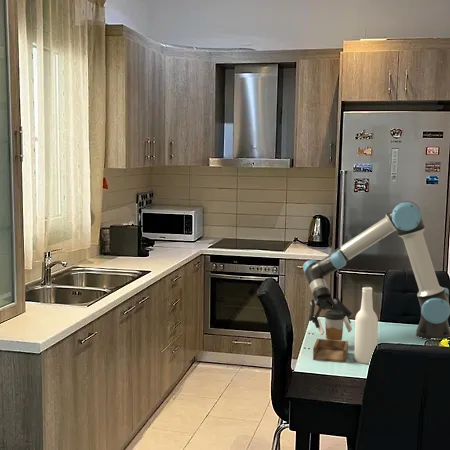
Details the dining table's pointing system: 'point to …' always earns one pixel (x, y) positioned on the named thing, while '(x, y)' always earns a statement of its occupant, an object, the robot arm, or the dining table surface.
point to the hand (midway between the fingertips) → (336, 332)
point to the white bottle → (365, 328)
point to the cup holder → (330, 350)
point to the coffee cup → (334, 325)
